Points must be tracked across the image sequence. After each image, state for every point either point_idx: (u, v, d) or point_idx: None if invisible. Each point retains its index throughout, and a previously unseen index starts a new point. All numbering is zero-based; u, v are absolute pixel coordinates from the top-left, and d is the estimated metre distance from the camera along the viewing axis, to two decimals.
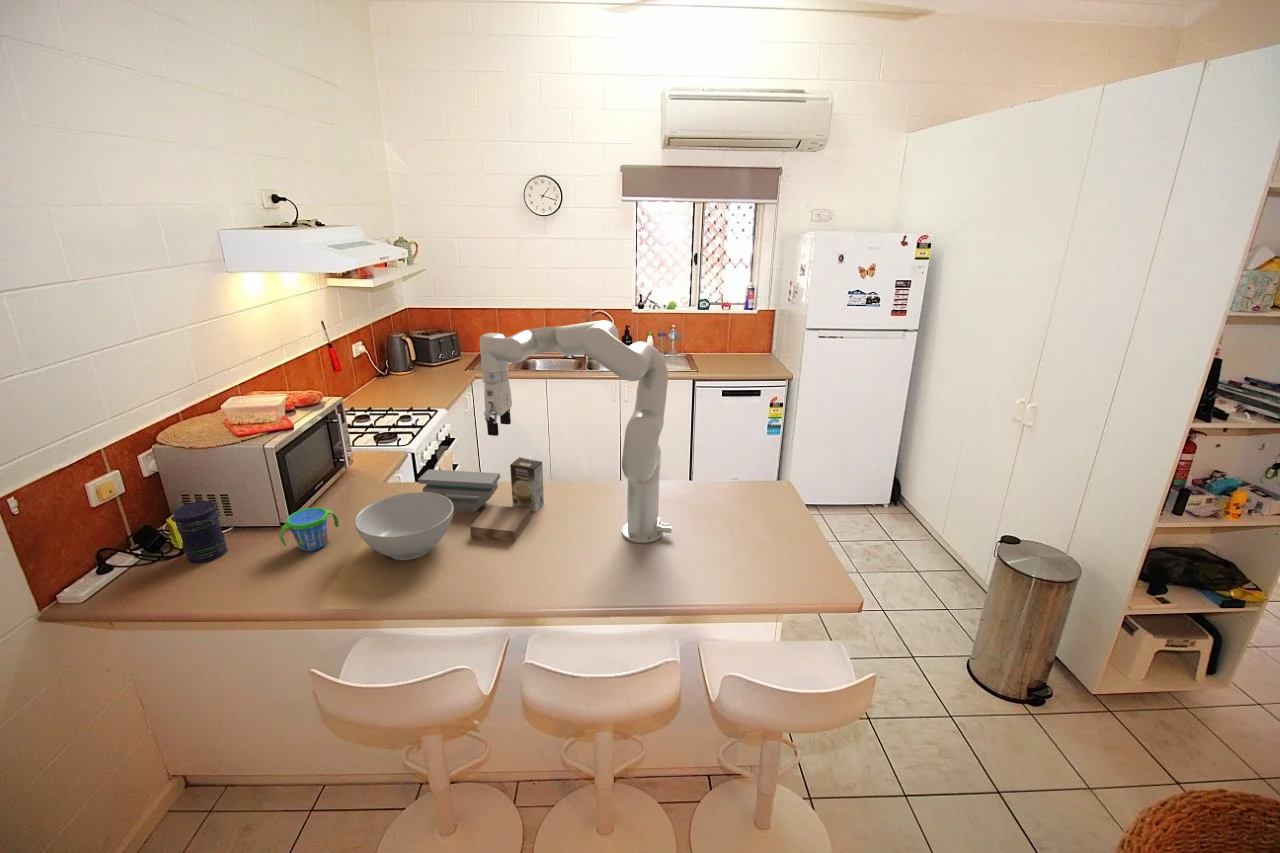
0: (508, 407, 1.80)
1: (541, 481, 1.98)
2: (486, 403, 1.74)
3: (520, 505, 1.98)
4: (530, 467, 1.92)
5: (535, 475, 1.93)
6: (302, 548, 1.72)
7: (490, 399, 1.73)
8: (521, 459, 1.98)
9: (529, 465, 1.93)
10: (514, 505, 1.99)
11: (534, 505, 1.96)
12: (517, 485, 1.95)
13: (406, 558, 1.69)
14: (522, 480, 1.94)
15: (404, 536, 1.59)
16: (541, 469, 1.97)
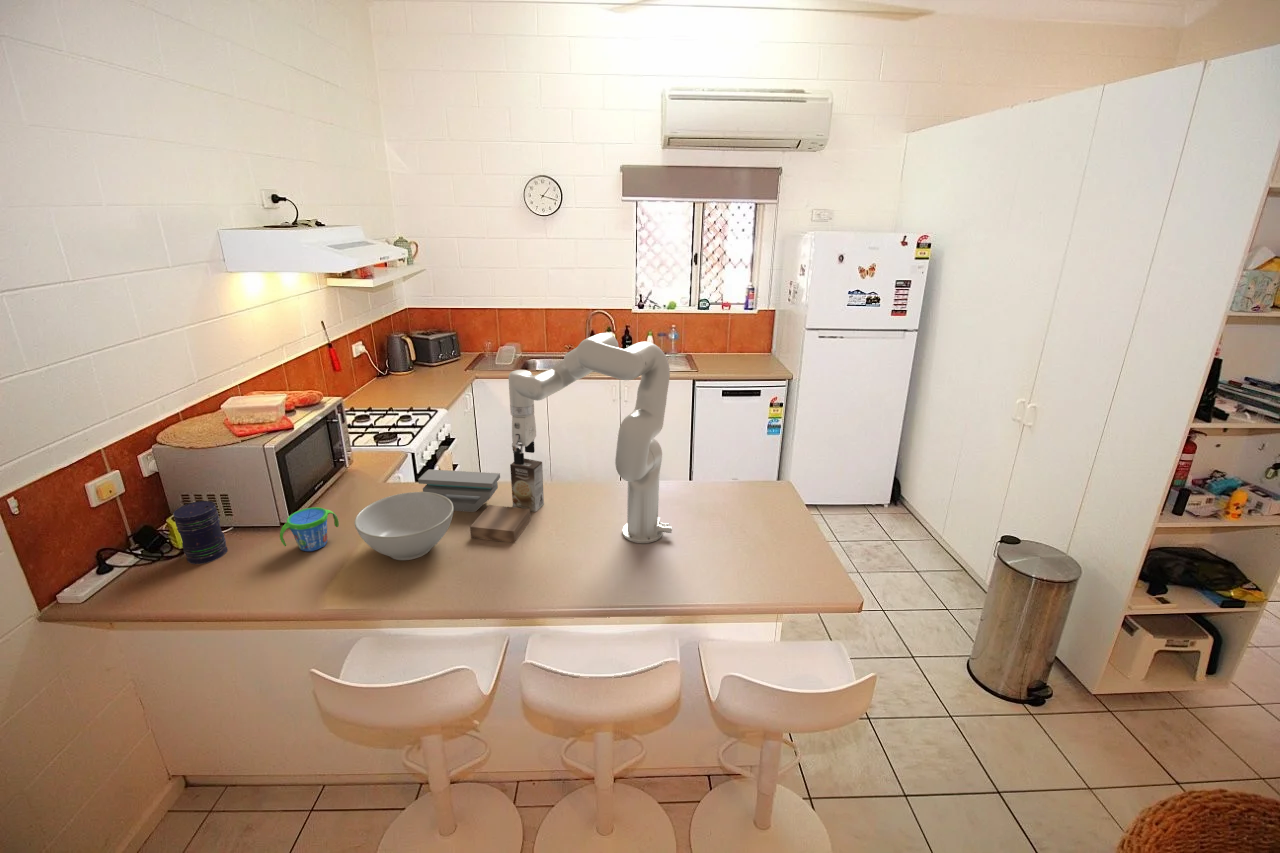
0: (533, 438, 1.93)
1: (541, 481, 1.98)
2: (513, 435, 1.87)
3: (520, 505, 1.98)
4: (530, 467, 1.92)
5: (535, 475, 1.93)
6: (302, 548, 1.72)
7: (517, 431, 1.86)
8: None
9: (529, 465, 1.93)
10: (514, 505, 1.99)
11: (534, 505, 1.96)
12: (517, 485, 1.95)
13: (406, 558, 1.69)
14: (522, 480, 1.94)
15: (404, 536, 1.59)
16: (541, 469, 1.96)
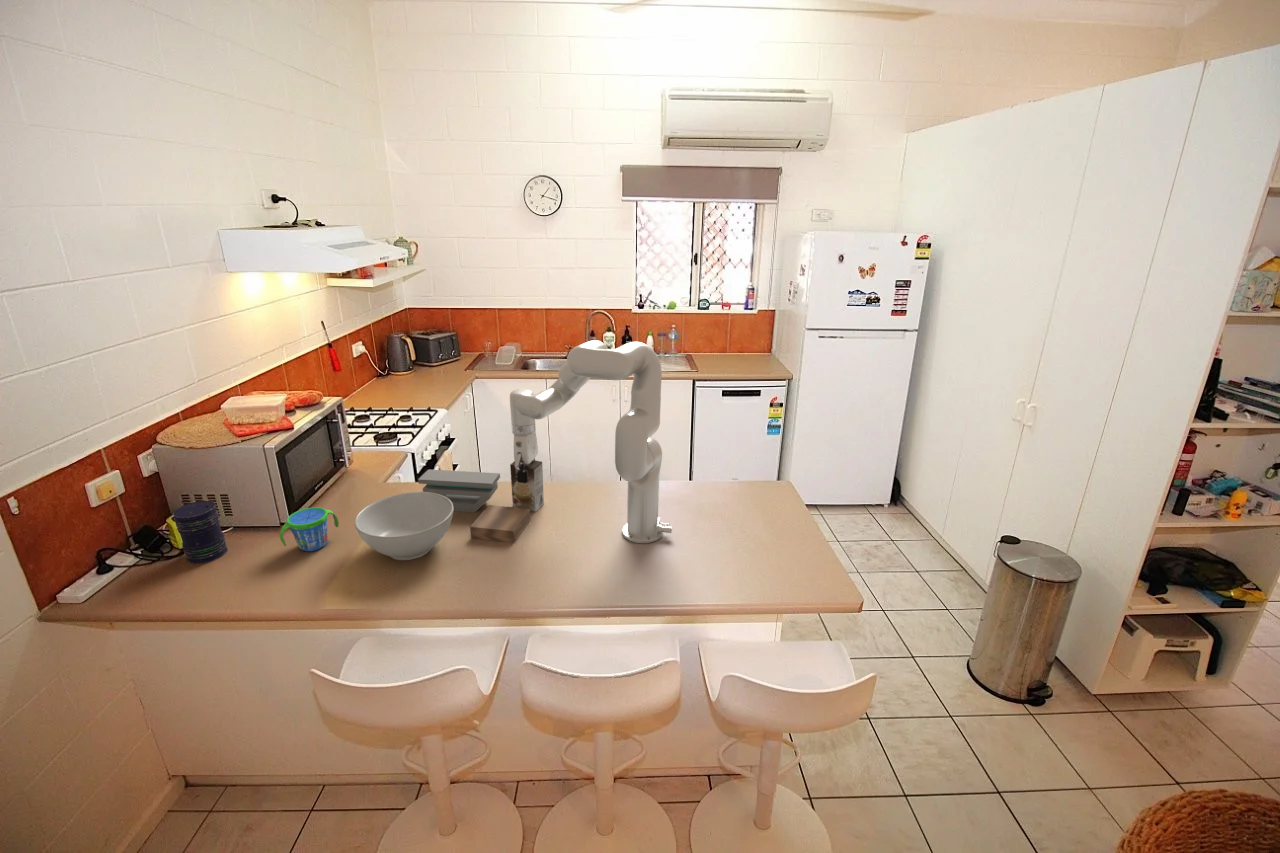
0: (535, 455, 1.95)
1: (541, 481, 1.98)
2: (515, 453, 1.89)
3: (520, 505, 1.98)
4: (530, 467, 1.92)
5: (535, 475, 1.93)
6: (302, 548, 1.72)
7: (519, 450, 1.88)
8: None
9: (529, 465, 1.93)
10: (514, 505, 1.99)
11: (534, 505, 1.96)
12: (517, 485, 1.95)
13: (406, 558, 1.69)
14: None
15: (404, 536, 1.59)
16: (541, 469, 1.96)
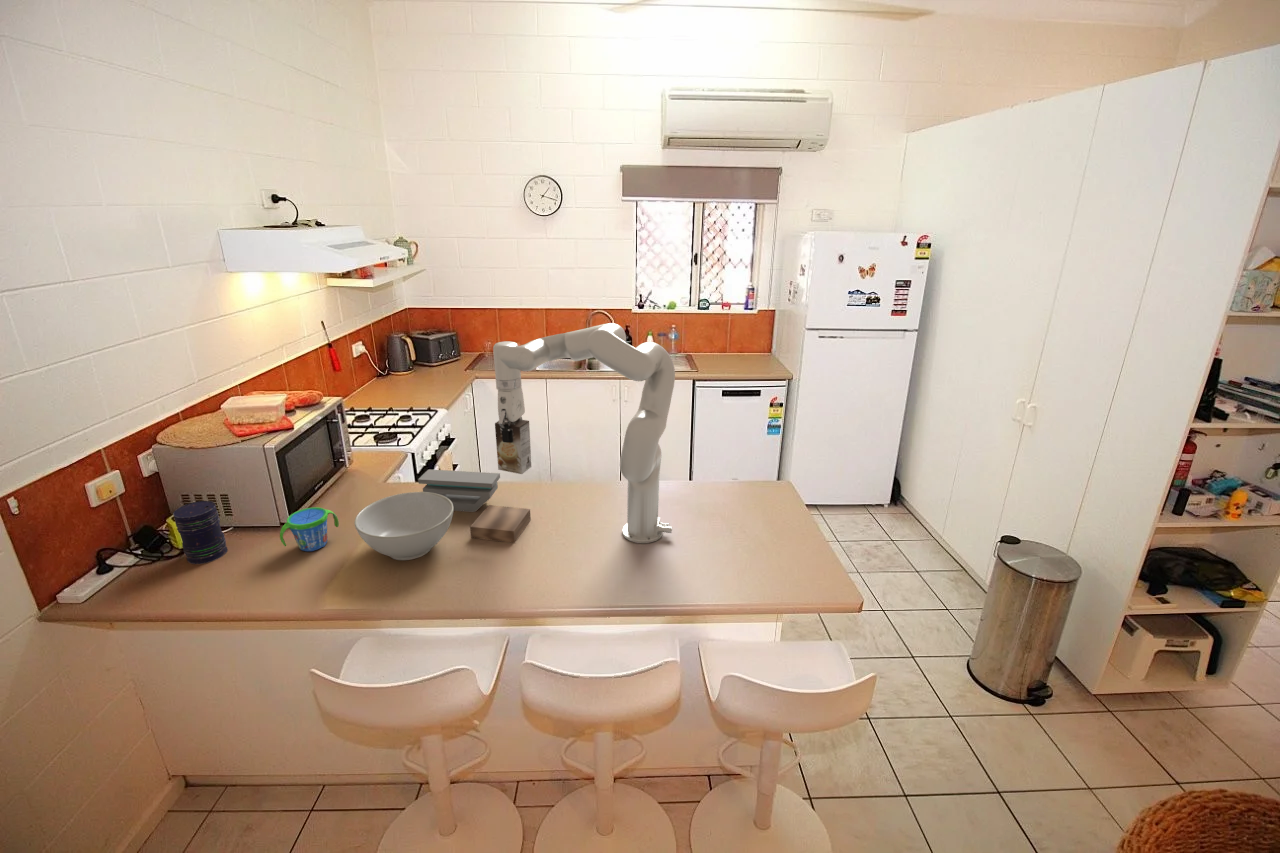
0: (521, 414, 1.83)
1: (528, 442, 1.86)
2: (499, 410, 1.77)
3: (505, 467, 1.86)
4: (516, 426, 1.80)
5: (521, 434, 1.81)
6: (302, 548, 1.72)
7: (503, 406, 1.76)
8: None
9: (514, 423, 1.82)
10: (499, 467, 1.87)
11: (520, 467, 1.84)
12: (503, 445, 1.84)
13: (406, 558, 1.69)
14: None
15: (404, 536, 1.59)
16: (528, 429, 1.85)
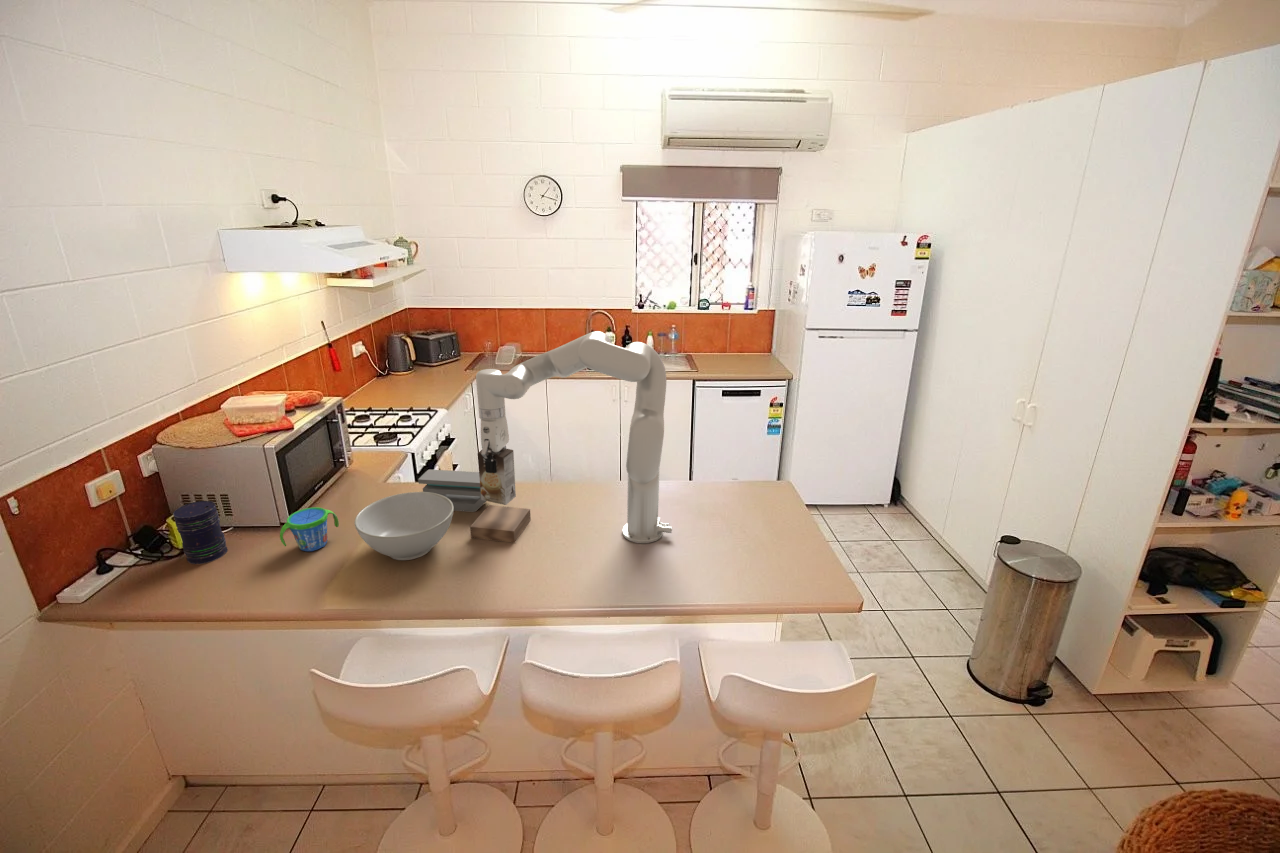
0: (505, 443, 1.77)
1: (512, 471, 1.80)
2: (482, 440, 1.71)
3: (489, 498, 1.80)
4: (499, 456, 1.74)
5: (505, 464, 1.75)
6: (302, 548, 1.72)
7: (486, 436, 1.70)
8: None
9: (498, 453, 1.75)
10: (483, 498, 1.81)
11: (504, 498, 1.78)
12: (486, 475, 1.77)
13: (406, 558, 1.69)
14: None
15: (404, 536, 1.59)
16: (512, 458, 1.78)
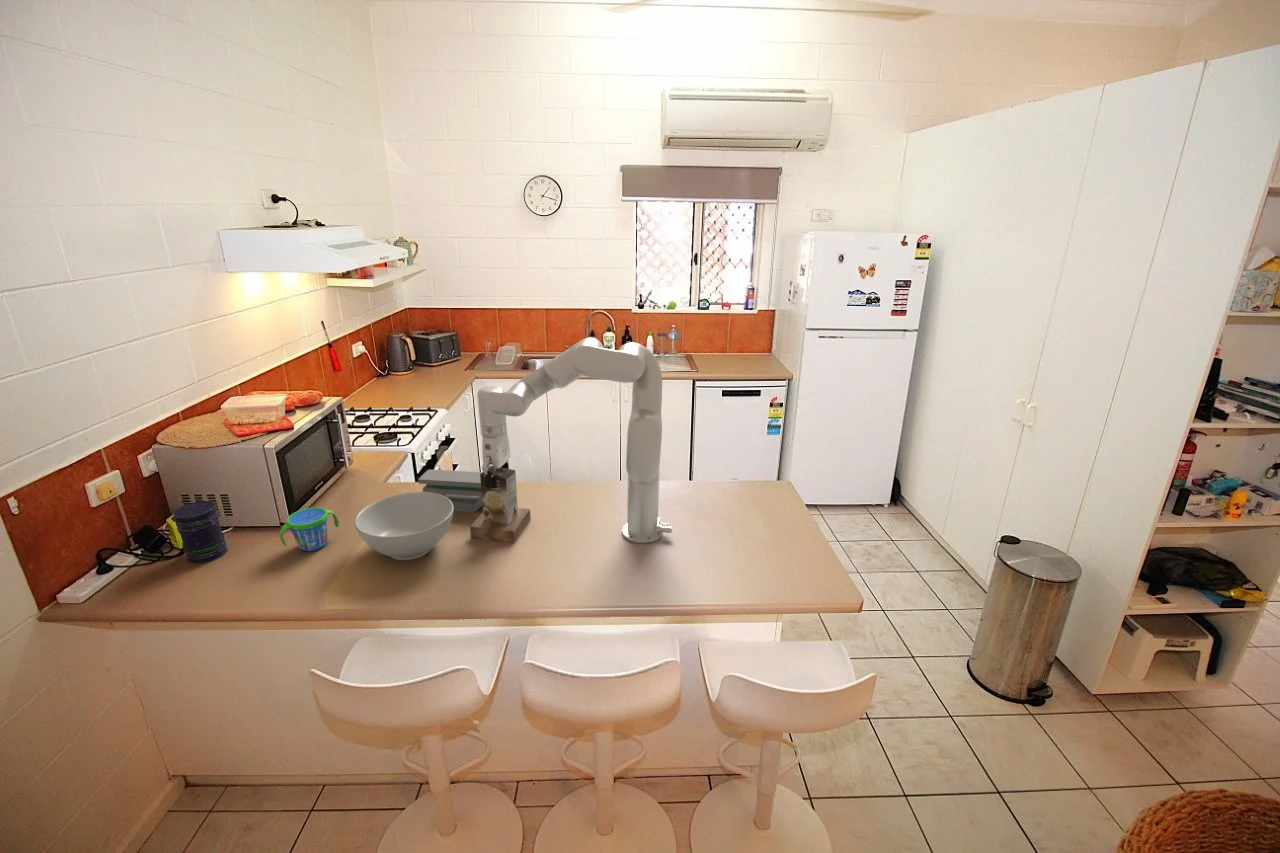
0: (506, 459, 1.79)
1: (514, 491, 1.82)
2: (484, 456, 1.73)
3: (491, 518, 1.82)
4: (502, 477, 1.76)
5: (507, 485, 1.77)
6: (302, 548, 1.72)
7: (488, 453, 1.72)
8: None
9: (500, 474, 1.77)
10: (485, 518, 1.83)
11: (507, 518, 1.80)
12: (488, 496, 1.79)
13: (406, 558, 1.69)
14: (493, 491, 1.78)
15: (404, 536, 1.59)
16: (514, 478, 1.81)
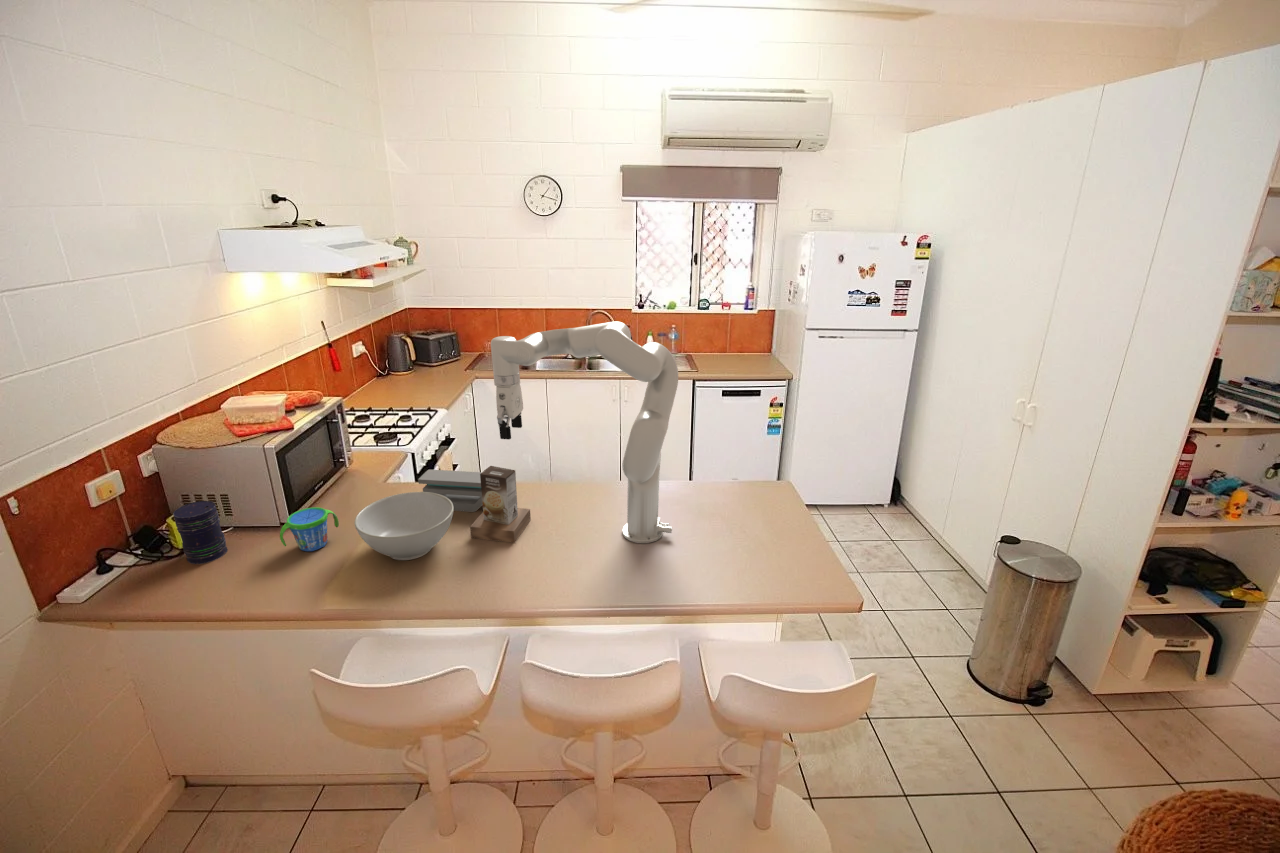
0: (520, 410, 1.79)
1: (514, 491, 1.82)
2: (498, 407, 1.72)
3: (491, 518, 1.82)
4: (502, 477, 1.76)
5: (507, 485, 1.77)
6: (302, 548, 1.72)
7: (502, 403, 1.72)
8: (492, 467, 1.81)
9: (500, 474, 1.77)
10: (485, 518, 1.83)
11: (507, 518, 1.80)
12: (488, 496, 1.79)
13: (406, 558, 1.69)
14: (493, 491, 1.78)
15: (404, 536, 1.59)
16: (514, 478, 1.81)
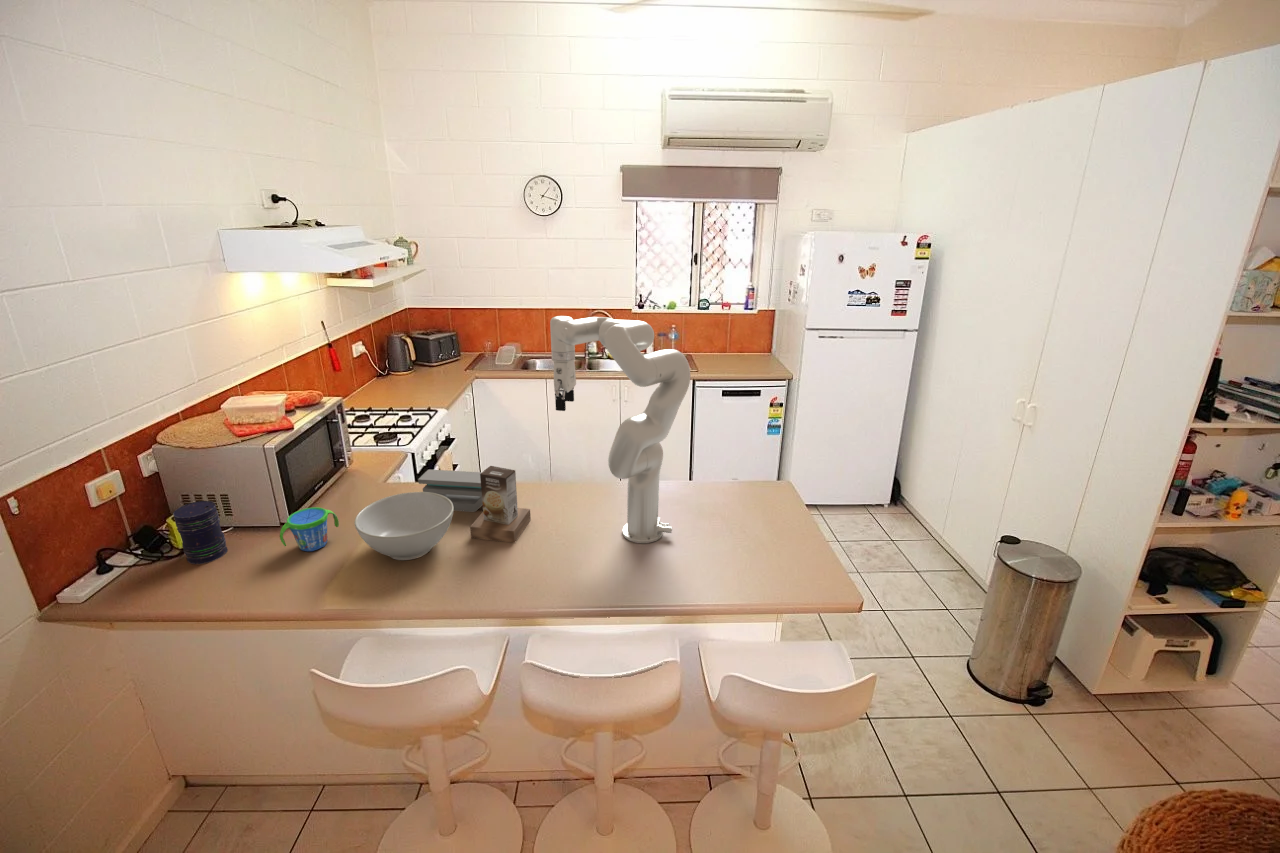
0: (573, 385, 1.95)
1: (514, 491, 1.82)
2: (555, 380, 1.89)
3: (491, 518, 1.82)
4: (502, 477, 1.76)
5: (507, 485, 1.77)
6: (302, 548, 1.72)
7: (559, 377, 1.88)
8: (492, 467, 1.81)
9: (500, 474, 1.77)
10: (485, 518, 1.83)
11: (507, 518, 1.80)
12: (488, 496, 1.79)
13: (406, 558, 1.69)
14: (493, 491, 1.78)
15: (404, 536, 1.59)
16: (514, 478, 1.81)
